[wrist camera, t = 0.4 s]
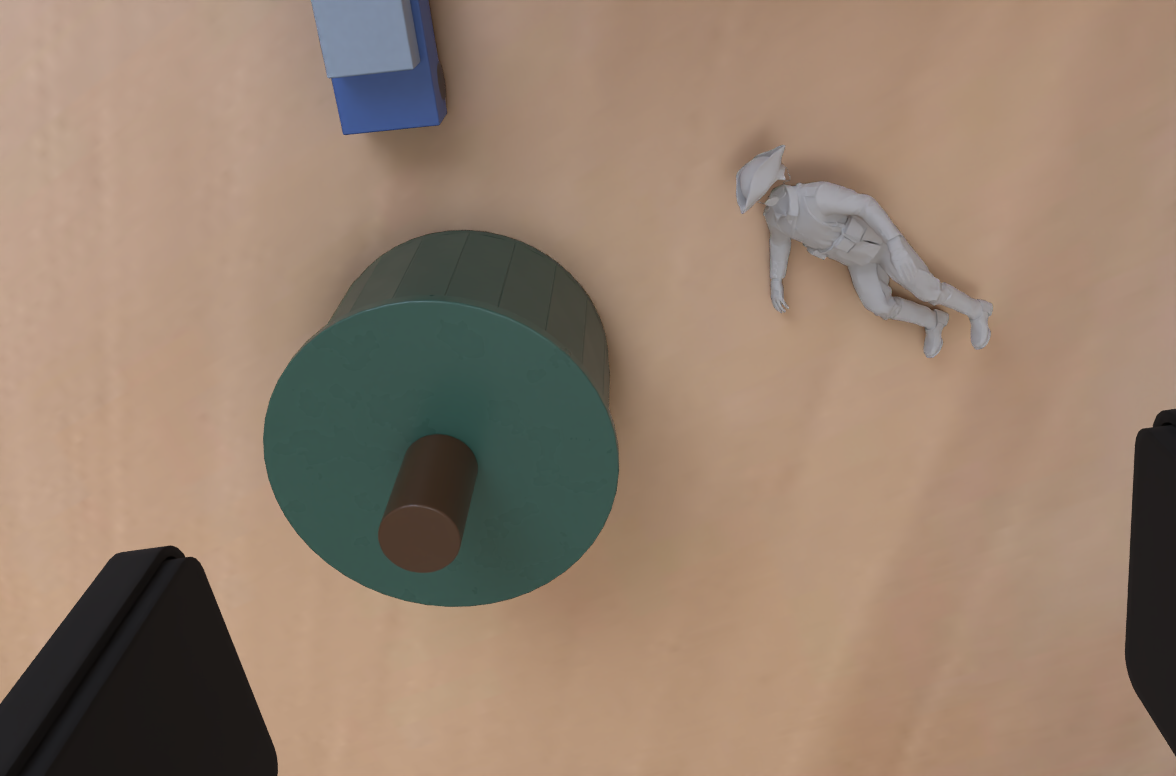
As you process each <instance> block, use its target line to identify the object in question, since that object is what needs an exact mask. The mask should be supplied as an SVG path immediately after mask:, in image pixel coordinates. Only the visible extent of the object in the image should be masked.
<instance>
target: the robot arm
mask: <svg viewBox="0 0 1176 776" xmlns="http://www.w3.org/2000/svg"><path fill="white" fill-rule="evenodd" d="M1125 660H1126V666H1127V671H1128V675H1129V678H1130V681H1131V683H1132V686H1133V688H1134V690H1135V692H1136V694H1137V695H1138V697H1139V699H1140V700H1141V702H1142V703H1143V705H1144V707H1145V708H1146V710H1147V711H1148V713H1149V715H1150V716H1151V718H1152V719H1153V721H1154V723H1155V724H1156V726H1157V727H1158V729H1159V730H1160V732H1161V734H1162V735H1163V737H1164V738H1165V740H1166V742H1167V743H1168V745H1169V746H1170V748H1171V750H1172V751H1173V753H1174V754H1175V756H1176V409H1171V410H1164V411H1161V412H1160V413H1159V414H1158V415H1157V416H1156V419H1155V421H1154V423H1153V427H1152V428H1144V429H1141V430H1140V431H1139V432H1138V434H1137V437H1136V442H1135V456H1134V476H1133V497H1132V517H1131V538H1130V559H1129V579H1128V600H1127V620H1126V641H1125ZM277 774H278V762H277V755H276V751H275V748H274V745H273V743H272V740H271V738H270V735H269V733H268V730H267V728H266V725H265V723H264V720H263V718H262V715H261V713H260V710H259V707H258V705H257V702H256V700H255V697H254V695H253V692H252V690H251V687H250V685H249V682H248V680H247V677H246V675H245V672H244V670H243V667H242V665H241V662H240V660H239V657H238V655H237V652H236V650H235V647H234V645H233V642H232V640H231V637H230V635H229V632H228V630H227V627H226V624H225V622H224V619H223V617H222V614H221V612H220V609H219V607H218V604H217V602H216V599H215V597H214V594H213V592H212V589H211V587H210V584H209V582H208V579H207V577H206V574H205V572H204V569H203V567H202V566H201V564H200V562H199V561H198V560H197V559H196V558H193V557H185V556H184V554H183V553H182V552H181V551H180V550H179V549H178V548H177V547H174V546H164V547H157V548H149V549H142V550H134V551H127V552H121V553H117V554H115V555H114V556H113V557H112V558H111V559H110V560H109V561H108V562H107V564H106V565H105V566H104V568H103V569H102V570H101V572H100V573H99V574H98V576H97V577H96V578H95V580H94V581H93V582H92V584H91V585H90V586H89V588H88V589H87V590H86V592H85V593H84V594H83V595H82V597H81V598H80V599H79V601H78V602H77V603H76V605H75V606H74V607H73V609H72V610H71V611H70V613H69V614H68V615H67V617H66V618H65V619H64V621H63V622H62V623H61V625H60V626H59V627H58V628H57V630H56V631H55V632H54V634H53V635H52V636H51V638H50V639H49V640H48V642H47V643H46V644H45V646H44V647H43V648H42V650H41V651H40V652H39V654H38V655H37V656H36V658H35V659H34V660H33V661H32V663H31V664H30V665H29V667H28V668H27V669H26V671H25V672H24V673H23V675H22V676H21V677H20V679H19V680H18V681H17V683H16V684H15V685H14V687H13V688H12V689H11V691H10V692H9V693H8V694H7V696H6V697H5V698H4V700H3V701H2V702H1V704H0V776H277Z"/></svg>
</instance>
